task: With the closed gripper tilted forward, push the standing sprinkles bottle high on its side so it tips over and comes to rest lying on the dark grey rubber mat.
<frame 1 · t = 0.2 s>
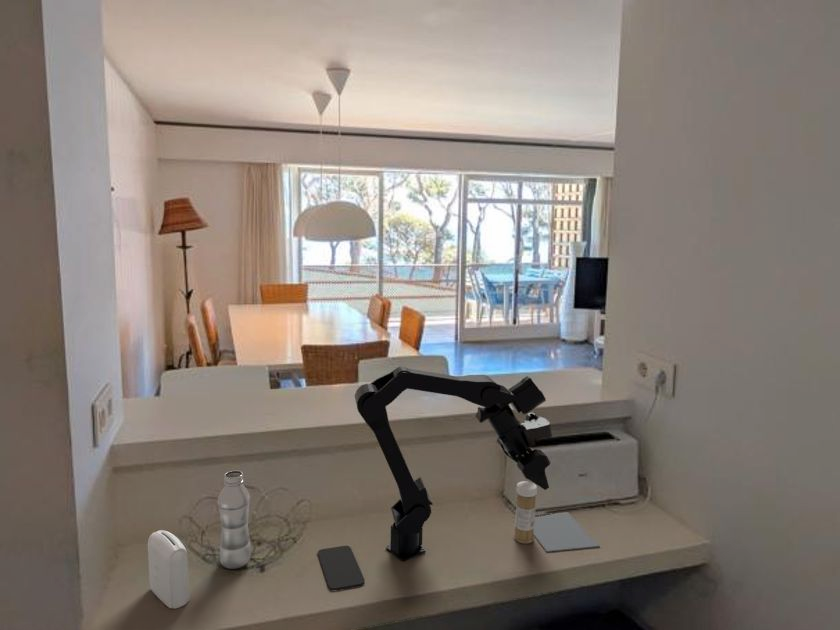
hand: (539, 479, 135), 15 cm above the table, tool tilted 35°, fingers open, 9 cm apart
sprinkles bottle: (523, 540, 137), on the table
photo printer: (169, 596, 114), on the table
plastic bottle: (235, 565, 124), on the table
mat: (557, 531, 141), on the table
phone: (340, 569, 124), on the table
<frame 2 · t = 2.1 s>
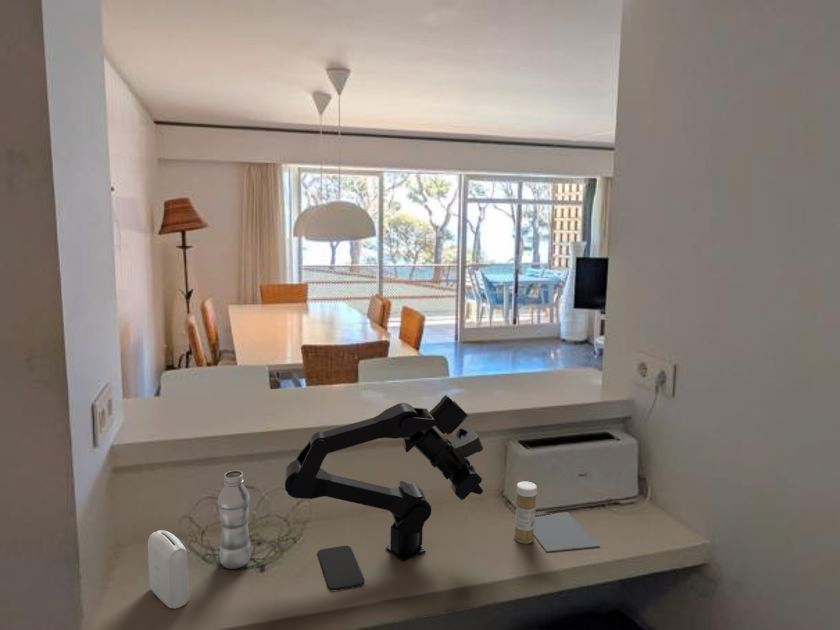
hand: (481, 492, 133), 12 cm above the table, tool tilted 45°, fingers closed
nothing on the table moved.
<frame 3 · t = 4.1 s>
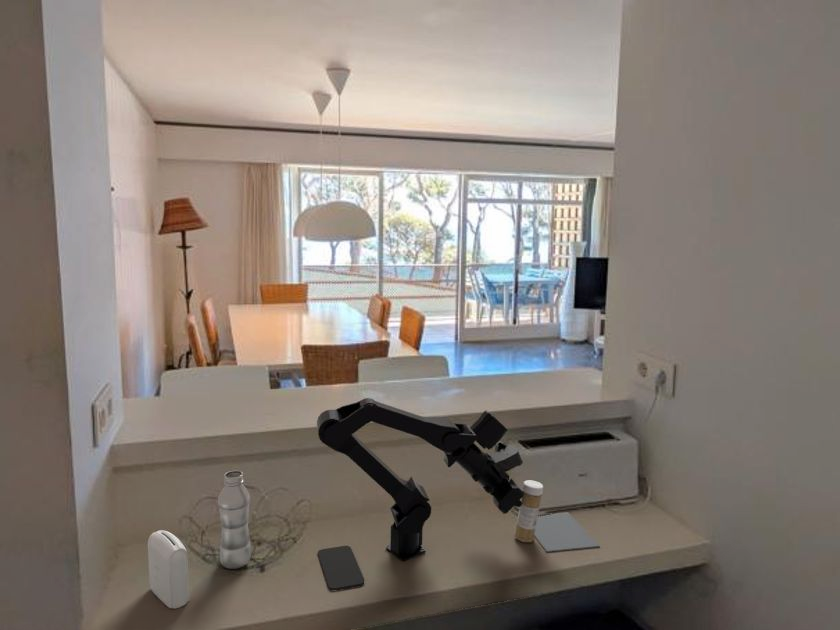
hand: (520, 504, 136), 9 cm above the table, tool tilted 45°, fingers closed
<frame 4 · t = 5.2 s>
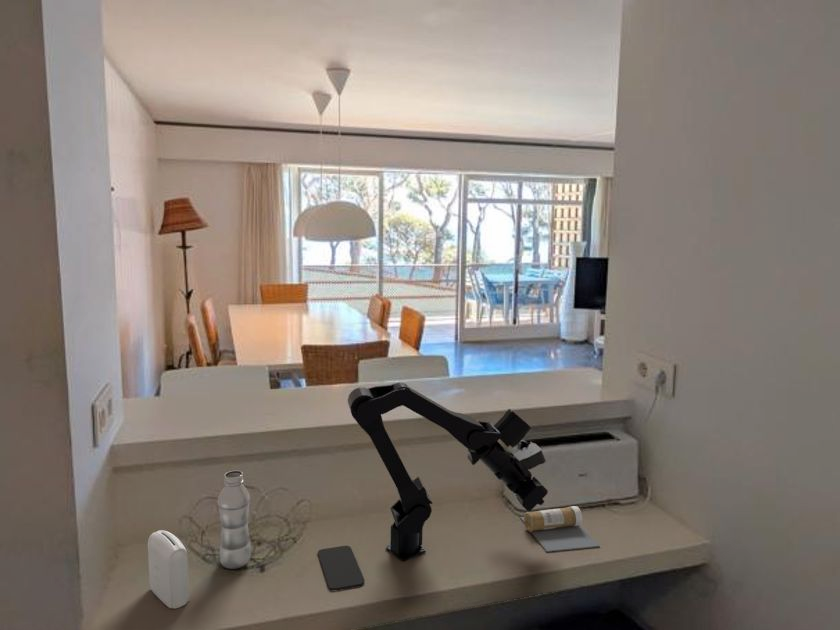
hand: (542, 502, 137), 9 cm above the table, tool tilted 45°, fingers closed
sprinkles bottle: (526, 521, 141), point 2 cm above the table, touching mat
everything else where it was.
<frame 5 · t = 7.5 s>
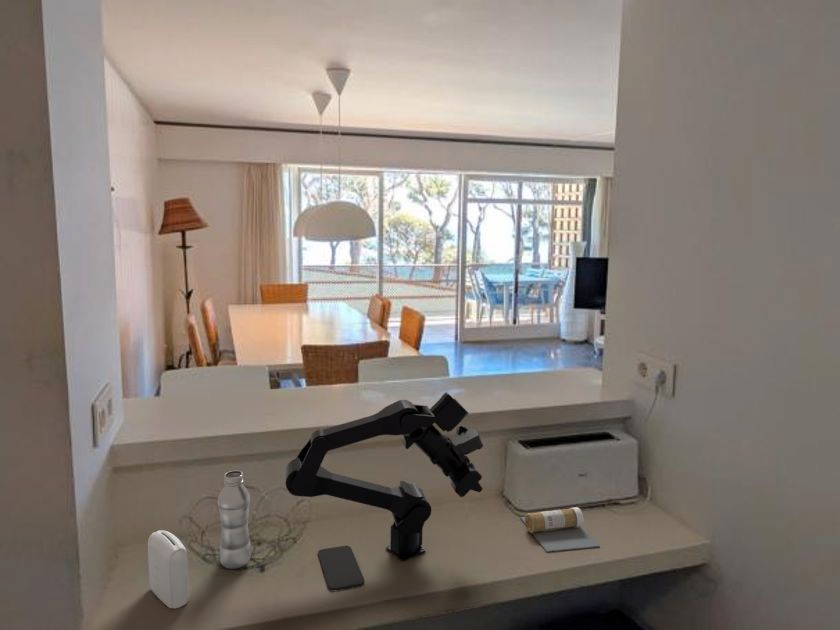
hand: (480, 490, 133), 13 cm above the table, tool tilted 45°, fingers closed
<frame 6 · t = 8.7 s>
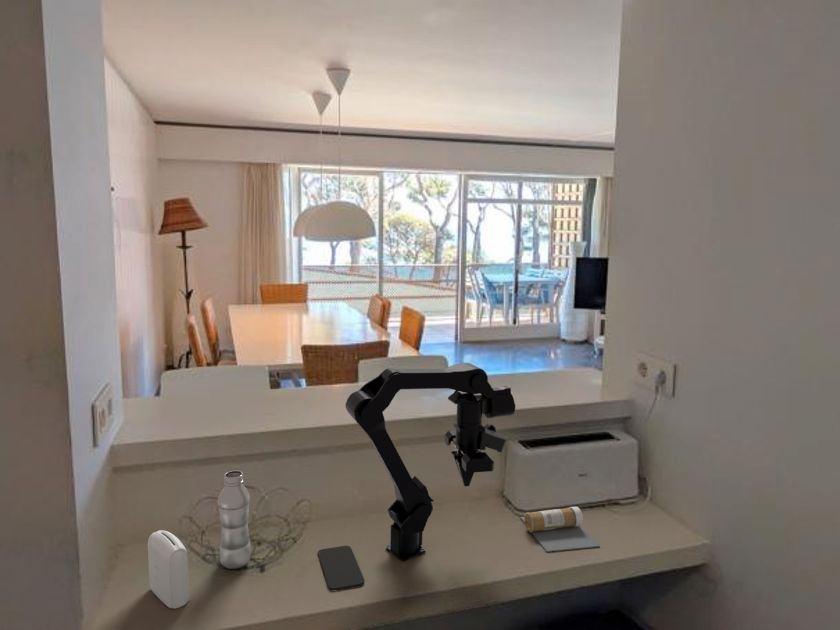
hand: (466, 485, 135), 13 cm above the table, tool pointing down, fingers closed
nothing on the table moved.
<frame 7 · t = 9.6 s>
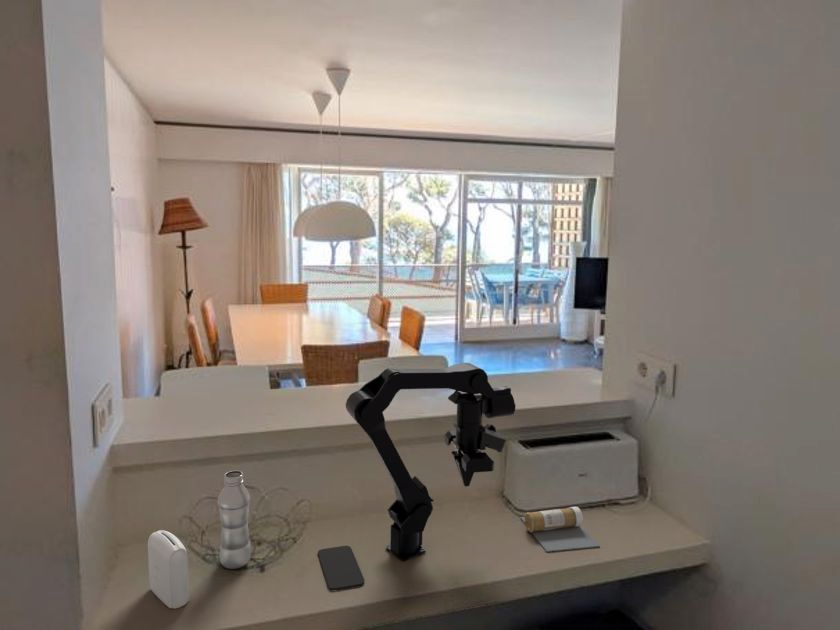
hand: (466, 485, 135), 13 cm above the table, tool pointing down, fingers closed
nothing on the table moved.
at the end: sprinkles bottle tilted 90°; sprinkles bottle touching mat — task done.
